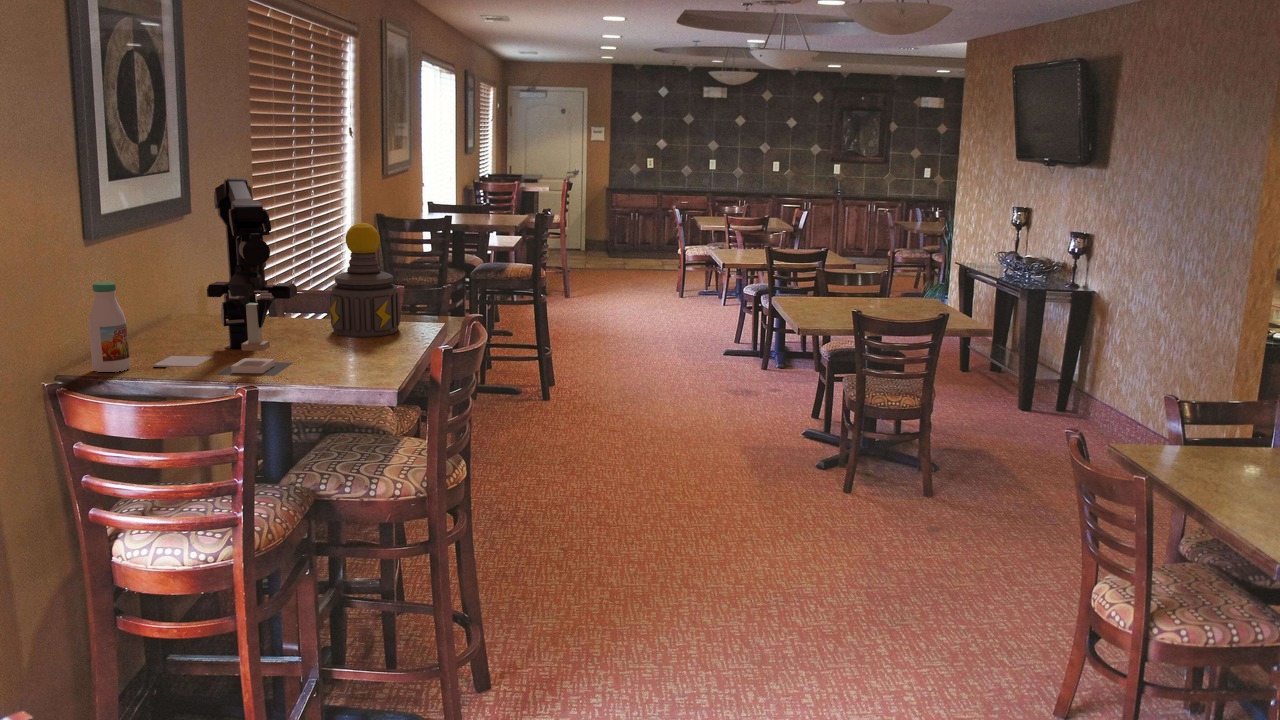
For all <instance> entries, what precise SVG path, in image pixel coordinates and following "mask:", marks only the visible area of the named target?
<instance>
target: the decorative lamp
mask: <svg viewBox="0 0 1280 720" xmlns="http://www.w3.org/2000/svg"><path fill="white" fill-rule="evenodd" d="M380 243H381V236H380V234H379V232H378V230H377V229H376V228H375V227H374V226H373V225H372V224H370V223H368V222H358V223H355V224H353V225H351V226H350V228H348V230H347V231H346V235H345V244H346V247H347V249H348V250H349V251H350V252H351V253H350V259H349V261H348V265H349V266H348V267H347V269H346V271H345V272H340V273H339V274H337V275H335V276H334V283H336V284H334V285H333V286H331V292H330V293H329V303H330V305H329V307H330V308H329V311H330V326H331V327H332V329H333V334H335V335H338V336H341V337H347V338H377V337H385V336H389V335H393V334H395V333H396V332H398V330H399V326H400V324H401V317H400V316H401V312H400V311H401V310H400V292H399V291H398V286H397V285H396V284H394V283H393V282H394V276H393V275H392V274H390V273H388V272H386V271H381V266H379V265H378V264H379V261H378V259H377V253H376V251H377V250H378V249H379V246H380Z"/></svg>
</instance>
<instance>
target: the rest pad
mask: <svg viewBox="0 0 1280 720" xmlns="http://www.w3.org/2000/svg"><path fill="white" fill-rule="evenodd" d="M213 358H214V356H198V355H197V356H196V355H194V356H191V355H189V356H188V355H187V356H186V355H171V356H168V357H166V358H164V359H162V360H161V361H158V362H156V363H154V364H153V365H152V368H153V367H168V368H169V367H193V368H194V367H199V366H200V365H202V364H204V363H205V362H207V361H210V360H211V359H213Z"/></svg>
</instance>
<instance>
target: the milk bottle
mask: <svg viewBox="0 0 1280 720" xmlns="http://www.w3.org/2000/svg"><path fill="white" fill-rule="evenodd" d="M116 290H117V289H116V283H115V282H110V281H109V282H108V281H107V282H106V281H105V282H104V281H103V282H102V281H101V282H95V283H93V284H92V292H93V295H94V300H93V304H92V307H91V308H90V312H89V315H88V335H89V346H90V347H89V348H90V354H91V355H90V356H91V366H92V367H91V368H92V370H93V372H94V371H98V372H115V373H120V372H119V371H121V372H125V371H128V370H130V368H131V359H130V346H129V335H128V327H127V319H126V316H125V313H124V311H123V308H122V306H120V304H119V302H118V300H117V297H116V293H117V291H116ZM127 369H128V370H127ZM124 370H125V371H124ZM98 372H97V373H98Z"/></svg>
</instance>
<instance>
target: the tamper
mask: <svg viewBox="0 0 1280 720" xmlns="http://www.w3.org/2000/svg"><path fill="white" fill-rule="evenodd" d="M246 315H247V330H248V341H246V342H244V343H242V344H241V347H242V349H241V351H243V352H244V351H249V352H251V351H252V352H254V351H255V352H262V351H263V352H264V351H266V350H267V349H269V348H271V347H270V346H271V345H270V340H263V329H262V328H263V326H262V327H261V328H259V323H258V303H249V304H246Z"/></svg>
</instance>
